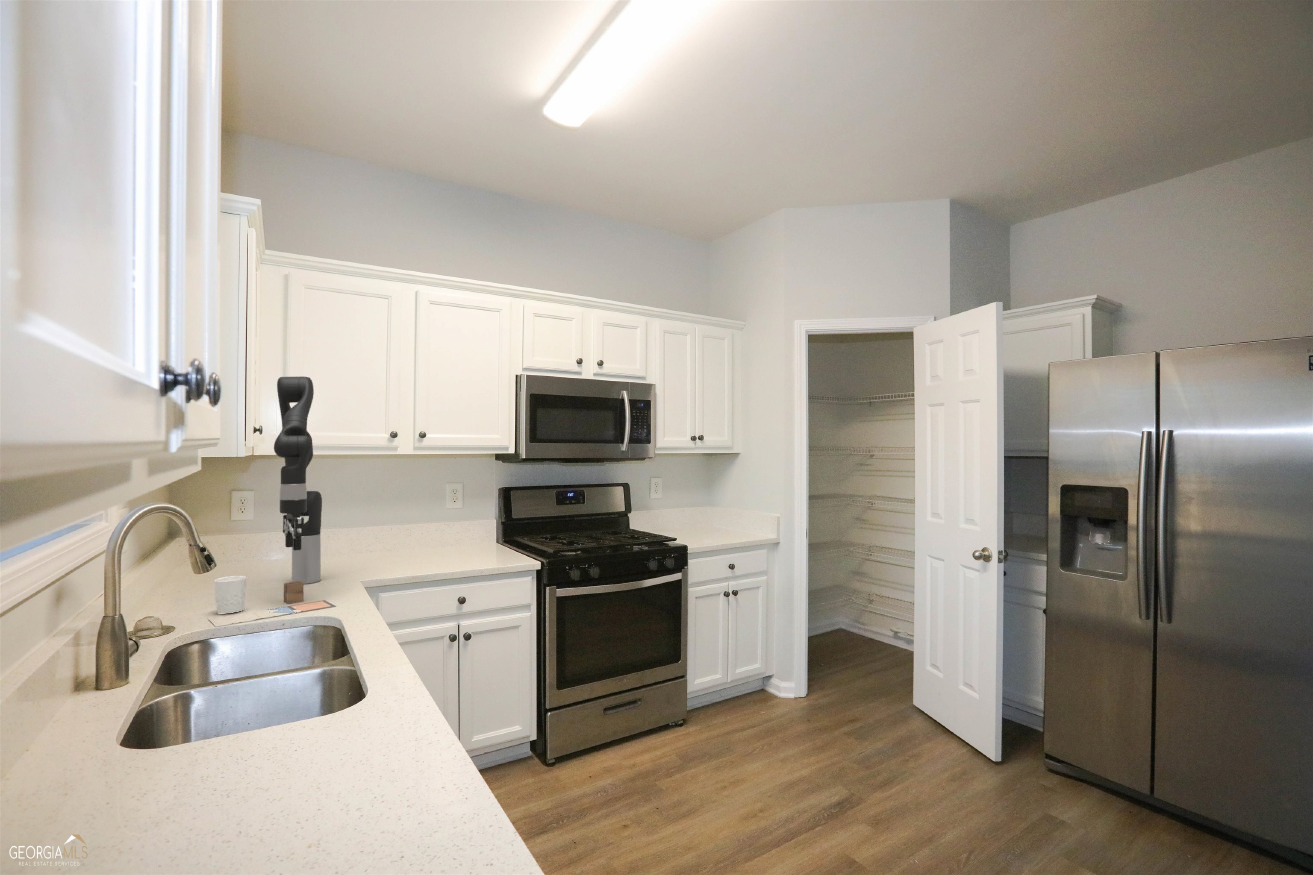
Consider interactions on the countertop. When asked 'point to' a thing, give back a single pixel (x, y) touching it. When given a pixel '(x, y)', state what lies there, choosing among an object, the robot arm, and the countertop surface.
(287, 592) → the walnut block
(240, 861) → the countertop surface
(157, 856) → the countertop surface
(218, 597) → the white cup
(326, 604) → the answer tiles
